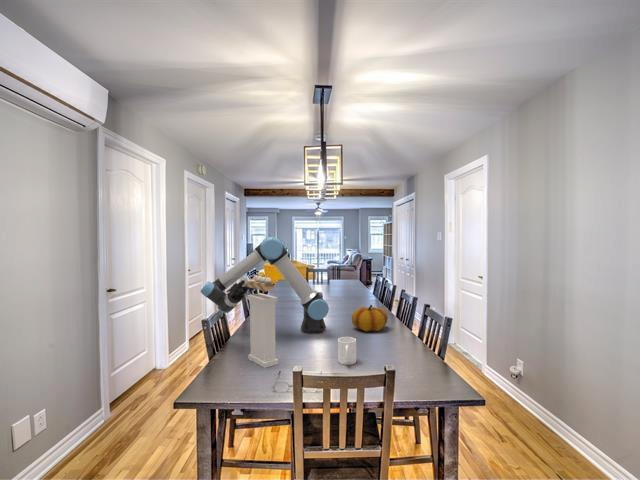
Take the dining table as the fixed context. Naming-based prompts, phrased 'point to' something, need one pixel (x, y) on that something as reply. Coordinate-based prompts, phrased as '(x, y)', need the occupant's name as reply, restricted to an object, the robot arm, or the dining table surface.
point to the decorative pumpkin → (369, 318)
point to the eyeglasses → (287, 383)
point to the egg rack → (261, 283)
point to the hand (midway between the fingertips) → (252, 278)
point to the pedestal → (262, 329)
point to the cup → (346, 350)
